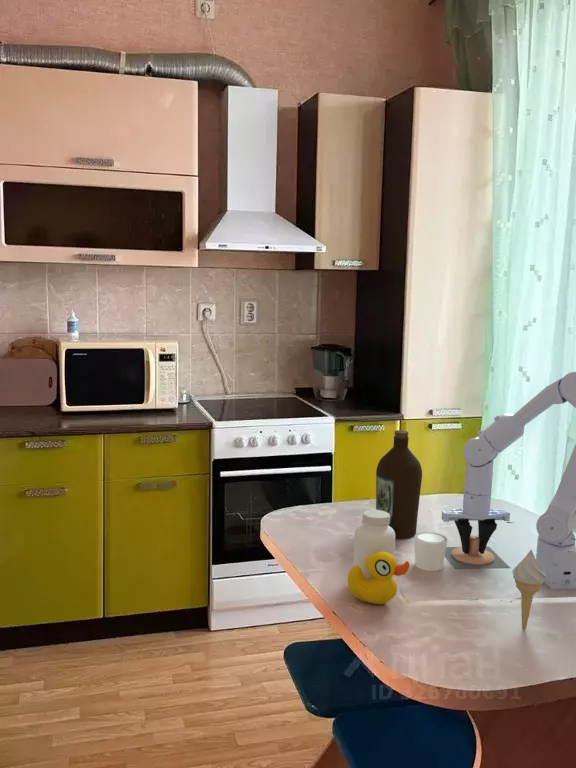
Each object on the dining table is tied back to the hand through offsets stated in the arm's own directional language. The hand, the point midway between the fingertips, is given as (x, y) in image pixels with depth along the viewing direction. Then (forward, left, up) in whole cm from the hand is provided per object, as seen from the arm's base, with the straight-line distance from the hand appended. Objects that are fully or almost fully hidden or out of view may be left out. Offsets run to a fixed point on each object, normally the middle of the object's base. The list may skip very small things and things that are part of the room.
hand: (473, 552), depth 163 cm
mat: (0, 0, -2) cm, 2 cm away
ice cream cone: (-31, +2, -2) cm, 31 cm away
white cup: (-4, +11, -2) cm, 12 cm away
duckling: (-19, +26, -2) cm, 32 cm away
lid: (0, 0, -1) cm, 1 cm away
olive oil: (+16, +13, -2) cm, 21 cm away
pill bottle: (-12, +25, -2) cm, 28 cm away
